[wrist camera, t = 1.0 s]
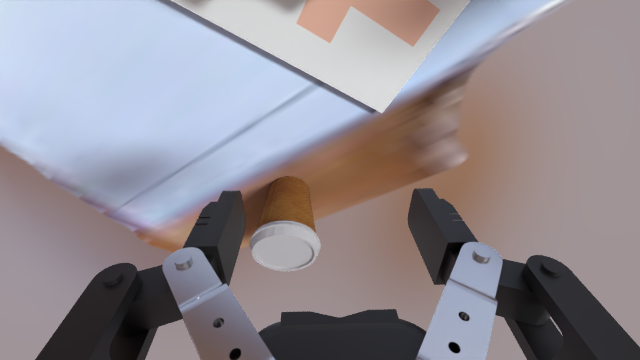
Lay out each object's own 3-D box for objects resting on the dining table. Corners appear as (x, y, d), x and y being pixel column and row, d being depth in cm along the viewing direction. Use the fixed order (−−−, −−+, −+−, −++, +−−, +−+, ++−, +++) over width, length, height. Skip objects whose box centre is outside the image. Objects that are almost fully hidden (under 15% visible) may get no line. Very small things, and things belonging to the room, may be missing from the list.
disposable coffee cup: (277, 158, 42) (269, 222, 33) (330, 184, 46) (335, 248, 37) (250, 196, 47) (236, 260, 39) (299, 216, 51) (296, 279, 42)
